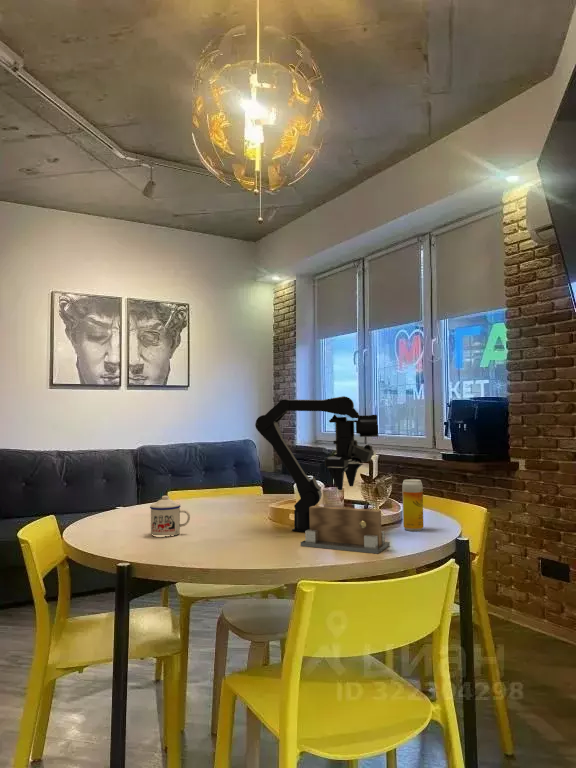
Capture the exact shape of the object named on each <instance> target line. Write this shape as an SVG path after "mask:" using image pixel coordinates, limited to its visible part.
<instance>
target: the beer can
mask: <svg viewBox="0 0 576 768" xmlns="http://www.w3.org/2000/svg"><path fill="white" fill-rule="evenodd" d="M401 486H402V487H401V488H402V491H401V492H402V527H403V528H404V530H406V531H407V532H408V531H409V532H420V531H422V530H423V529H424V501H423V500H424V496H423V495H424V493H423V491H424V489H423V483H422V480H421V479H413V478H412V479H403V482H402V484H401Z"/></svg>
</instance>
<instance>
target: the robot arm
mask: <svg viewBox="0 0 576 768" xmlns="http://www.w3.org/2000/svg"><path fill="white" fill-rule="evenodd" d="M290 411H291V412H296V411H297V412H326V413H328V414H329V413H331V414H333V416H331V418H330V419H329V421H328V423H330V424H331V423H332V424H333V423H334V424H335V440H333V445H335V453H334V454H333V456H332V455H331V456H327V457H326V458H325V460H324V467H325V468H326V469H327V470H328V472H329V473H330V476H331V478H332V479H333V481H334V484H335V486H336V488H337V489H338V490H339V491H342V490H343V487H344V478H345V477H346V479H347V483H348V486H349V487H354V485H355V484H354V483H355V480H356V477H357V472H358V470H359V468H360V467H361V466H363V465H364V463H368V462H371V460H372V457H373V456H374V450H373V446H372V445H370V444H365V446H361V445H358V440H356V439H355V431H356V434H358V435H359V438H369V437H370V438H375V437H376V438H378V437H379V424H378V415H377V414H371V415H365V414H364V415H360V414H359V412H358V411H357V410H356V409H355V404H354V401H353V400H352V399H351V398H350V397H348V396H345V395H343V396H342V395H341V396H337V397H331V398H326V399H288V398H282V399H280V400H279V401H278V403H277V404H276V405H274V406H273V407H272V408H271V409H269V411H268V412H266V413H265V414H263V415H260V416H258V417H257V418H256V421H255V425H254V426H255V428H256V431H257V432H258V433H260V435H261V436H262V437H263V438H264V439H265V440H266V441H267V442H268V443H269V444H270V445H271V446H272V448H273V450H274V451H275V453H276V454H277V455H278V458H280V460H281V462H282V463H283V466H284V467H285V469H286V470H287V471H288V473H289V475H290V477H291V478H292V480H293V481H294V483H295V485H296V489H297V493H298V495H299V499H298V500H297V502H296V503H295V504H294V505H293V507H294V510H293V512H294V513H293V515H294V516H293V517H294V520H293V521H294V528H291V531H293V532H294V531H295V532H303V533H305V531H306V530H308V529H309V530H310V517H309V507H311V506H317V505H318V503H319V502H320V500H321V499H322V490H321V489H322V487H321V486H320V485H319V483H318V482H317V478H316V477H314V476H313V478H311V477H309V476H308V475H307V474H306V473H305V471H304V470H303V468H302V467H301V465H300V463H299V461H298V460H297V458H296V457H295V455H294V454H293V452H292V451H291V449H290V448H289V445H288V444H287V443H286V441H285V439H284V438H283V435H282V432H281V429H280V425H279V422H280V421H281V420H282V419H283V417H285V415H286V414H287V413H289V412H290ZM337 415H341V416H337ZM346 415H347V416H348V417H349V418H351V419H352V420H351V419H350V420H347V419H348V418H347V416H346ZM353 419H357V420H353Z"/></svg>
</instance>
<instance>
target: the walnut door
mask: <svg viewBox="0 0 576 768" xmlns="http://www.w3.org/2000/svg"><path fill="white" fill-rule="evenodd" d="M309 517H310V530H318V541H328V542H338V543H349V544H359V545H364V536H365V535H378V546H380V545H382V533H381V531H382V509H380V510H379V509H365V508H350V507H335V506H334V507H333V506H322V505H321V506H320V505H315V506H311V507H309Z"/></svg>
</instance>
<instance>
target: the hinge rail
mask: <svg viewBox="0 0 576 768" xmlns="http://www.w3.org/2000/svg"><path fill="white" fill-rule="evenodd" d="M385 532H386V531H385V530H381V533H382V545H380V546H378V535H365V536H364V545H359V544H349V543H338V542H328V541H318V530H309V529H308V530H306V531H305V532H304V533H305V536H304V537H305V540H302V541H300V546H301V547H308V548H318V549H324V550H325V549H326V550H327V549H328V550H338V551H347V552H357V553H368V554H380V553H381V552H382V551H384V550H385V549H387V548H388V547H390V542H391V541H386V537H385V536H386V535H385V534H386V533H385Z"/></svg>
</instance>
